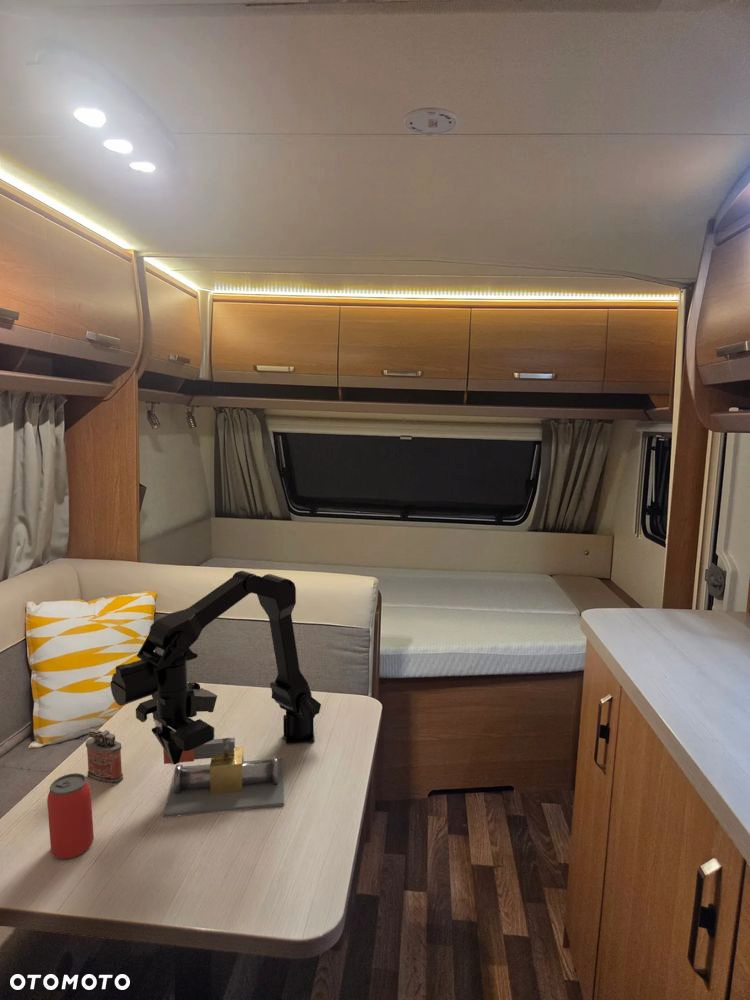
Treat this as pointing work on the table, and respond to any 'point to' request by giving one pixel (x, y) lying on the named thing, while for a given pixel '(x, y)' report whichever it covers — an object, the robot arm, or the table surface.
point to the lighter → (104, 757)
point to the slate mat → (226, 797)
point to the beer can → (70, 816)
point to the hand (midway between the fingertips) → (175, 763)
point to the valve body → (226, 774)
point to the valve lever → (207, 750)
